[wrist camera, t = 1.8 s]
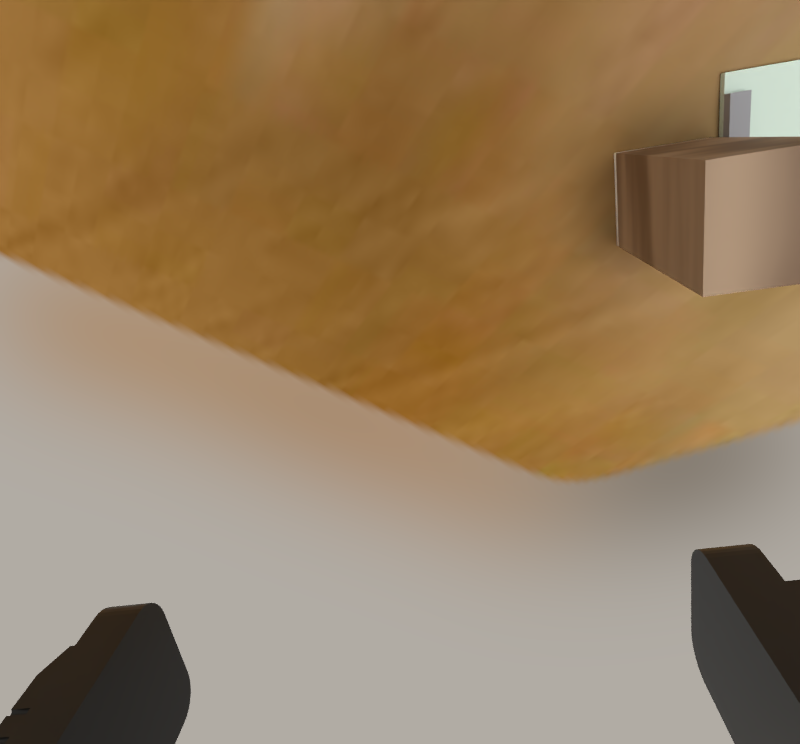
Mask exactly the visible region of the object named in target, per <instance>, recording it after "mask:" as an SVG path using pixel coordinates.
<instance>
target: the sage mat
mask: <svg viewBox="0 0 800 744" xmlns="http://www.w3.org/2000/svg"><path fill="white" fill-rule="evenodd" d="M719 137H800V60H795V61H789V62H783V63H778V64H772V65H766V66H760V67H755V68H749V69H743V70H738V71H732V72H726V73H722V74H721V77H720V114H719Z"/></svg>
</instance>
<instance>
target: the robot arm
mask: <svg viewBox="0 0 800 744" xmlns="http://www.w3.org/2000/svg"><path fill="white" fill-rule="evenodd" d="M691 614H692V615H691V623H692V626H691V628H692V629H691V631H692V641H693V648H694V652H695V656H696V660H697V663H698V667H699V670H700V672H701V675H702V678H703V680H704V682H705V684H706V686H707V688H708V690H709V692H710V695H711V697H712V699H713V700H714V703H715V704H716V707H717V709H718V711H719V713H720V715H721V717H722V719H723V721H724V723H725V725H726V727H727V729H728V731H729V733H730V735H731V737H732V739H733V741H734V743H735V744H800V580H793V581H784V580H783V578H782V577H781V576H780V574H779V573H778V572H777V571H776V569H775V568H774V567H773V566H772V564H771V563H770V562H769V561H768V559H767V558H766V557H765V555H764V554H763V553H762V552H761V550H760V549H759V548H757V547H756V546H755V545H753V544H746V545H736V546H726V547H717V548H706V549H698V550H695V551H694V552H693V554H692V559H691ZM190 694H191V689H190V679H189V675H188V672H187V669H186V667H185V664H184V662H183V660H182V657H181V655H180V652H179V649H178V647H177V644H176V642H175V639H174V637H173V634H172V632H171V629H170V627H169V624H168V622H167V619H166V617H165V614H164V612H163V610H162V609H161V607H160V606H158V605H157V604H155V603H146V604H136V605H128V606H127V605H126V606H117V607H109V608H105V609H103V610H102V611H101V612H100V613H98V615H97V616H96V617H95V619H94V620H93V621H92V623H91V624H90V626H89V627H88V628H87V630H86V631H85V633H84V634H83V635H82V637H81V638H80V640H79V641H78V642H77V644H76V645H75V646H70V647H69V648H68V649H66V650H65V651H64V652H63V653H62V654H61V655H60V656H59V657H57V658H56V659H55V660H54V661H53V662H52V663H51V664H49V665H48V666H47V667H46V668H45V669H44V670H43V671H42V672H40V673H39V674H38V675H37V676H36V677H35V679H34V680H33V681H32V683H31V684H30V685H29V687H28V688H27V689H26V691H25V692H24V693H23V695H22V696H21V697H20V699H19V700H18V701H17V703H16V704H15V705H14V707H13V708H12V713H11V715H10V716H6V717H5V719H4V720H3V721H2V723H1V724H0V744H175V742H176V740H177V738H178V736H179V733H180V731H181V729H182V726H183V724H184V722H185V719H186V716H187V713H188V709H189V704H190Z"/></svg>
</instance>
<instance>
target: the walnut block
mask: <svg viewBox="0 0 800 744" xmlns="http://www.w3.org/2000/svg"><path fill="white" fill-rule="evenodd" d="M614 172H615V204H616V236H617V246H619V247H621V248H622V249H624V250H625V251H627V252H629V253H630V254H632V255H634V256H635V257H637V258H639V259H640V260H642V261H644V262H645V263H647V264H649V265H650V266H652V267H654V268H655V269H657V270H659V271H660V272H662V273H664V274H665V275H667V276H669V277H670V278H672V279H674V280H675V281H677V282H679V283H680V284H682V285H684V286H685V287H687V288H689V289H690V290H692V291H694V292H695V293H697V294H699V295H700V296H702V297H706V296H714V295H721V294H729V293H736V292H744V291H751V290H759V289H766V288H774V287H781V286H789V285H796V284H800V137H709V138H703V139H697V140H691V141H685V142H679V143H672V144H666V145H660V146H654V147H648V148H642V149H636V150H630V151H623V152H617V153H614Z"/></svg>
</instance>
